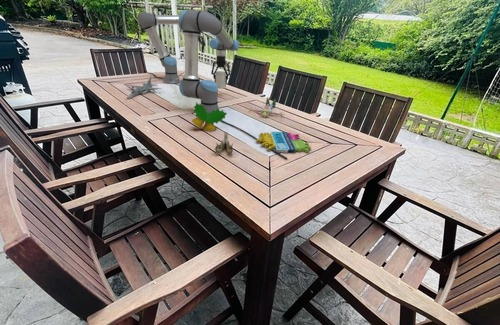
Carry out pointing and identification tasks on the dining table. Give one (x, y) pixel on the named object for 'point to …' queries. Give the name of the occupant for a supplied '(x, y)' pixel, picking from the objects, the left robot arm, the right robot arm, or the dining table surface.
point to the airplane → (142, 88)
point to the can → (221, 79)
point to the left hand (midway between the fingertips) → (197, 53)
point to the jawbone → (224, 145)
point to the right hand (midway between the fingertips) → (220, 83)
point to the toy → (267, 109)
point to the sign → (283, 142)
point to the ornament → (207, 117)
